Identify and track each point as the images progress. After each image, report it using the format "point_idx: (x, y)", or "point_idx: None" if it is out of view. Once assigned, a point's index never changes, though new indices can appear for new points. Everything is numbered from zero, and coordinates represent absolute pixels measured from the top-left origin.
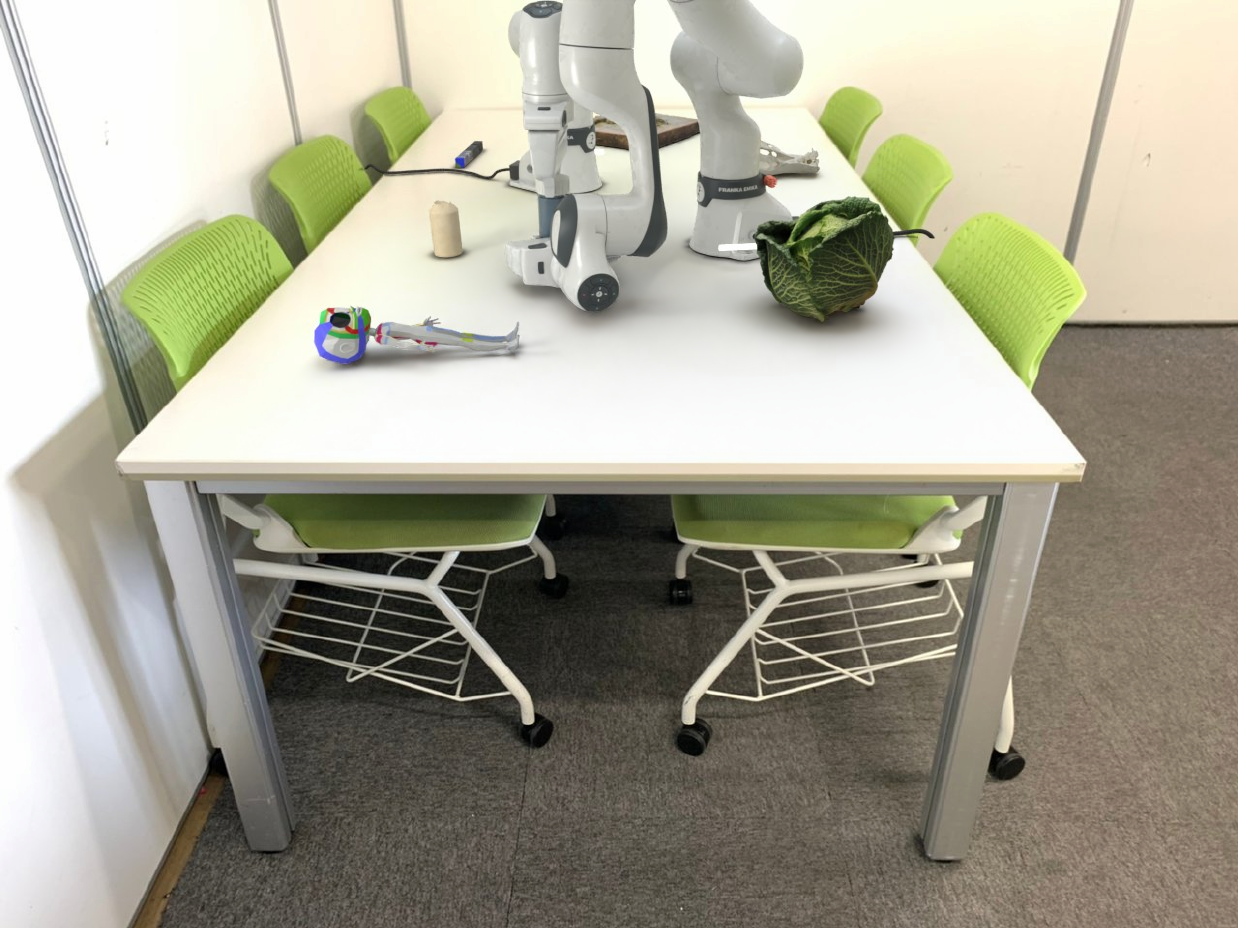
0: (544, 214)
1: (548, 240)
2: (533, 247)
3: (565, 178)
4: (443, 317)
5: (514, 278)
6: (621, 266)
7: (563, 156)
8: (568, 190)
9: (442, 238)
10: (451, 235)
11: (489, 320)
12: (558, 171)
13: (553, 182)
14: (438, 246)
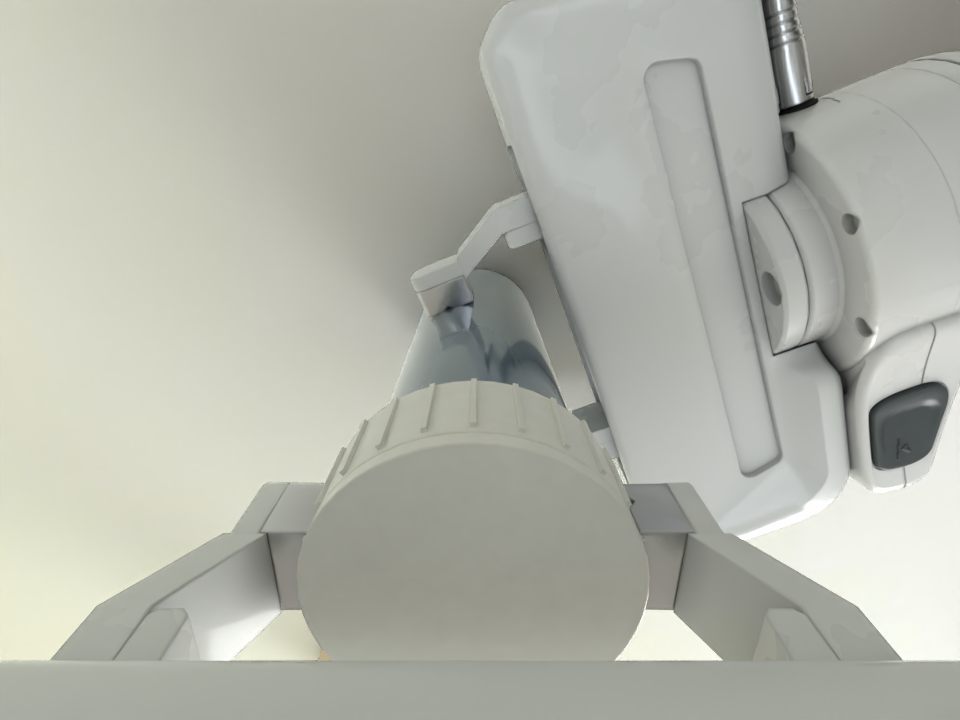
0: None
1: (661, 386)
2: (915, 443)
3: (497, 476)
4: (884, 574)
5: None
6: (450, 12)
7: (200, 702)
8: (516, 390)
9: None
10: None
11: (947, 460)
12: (230, 572)
13: (799, 579)
14: None
